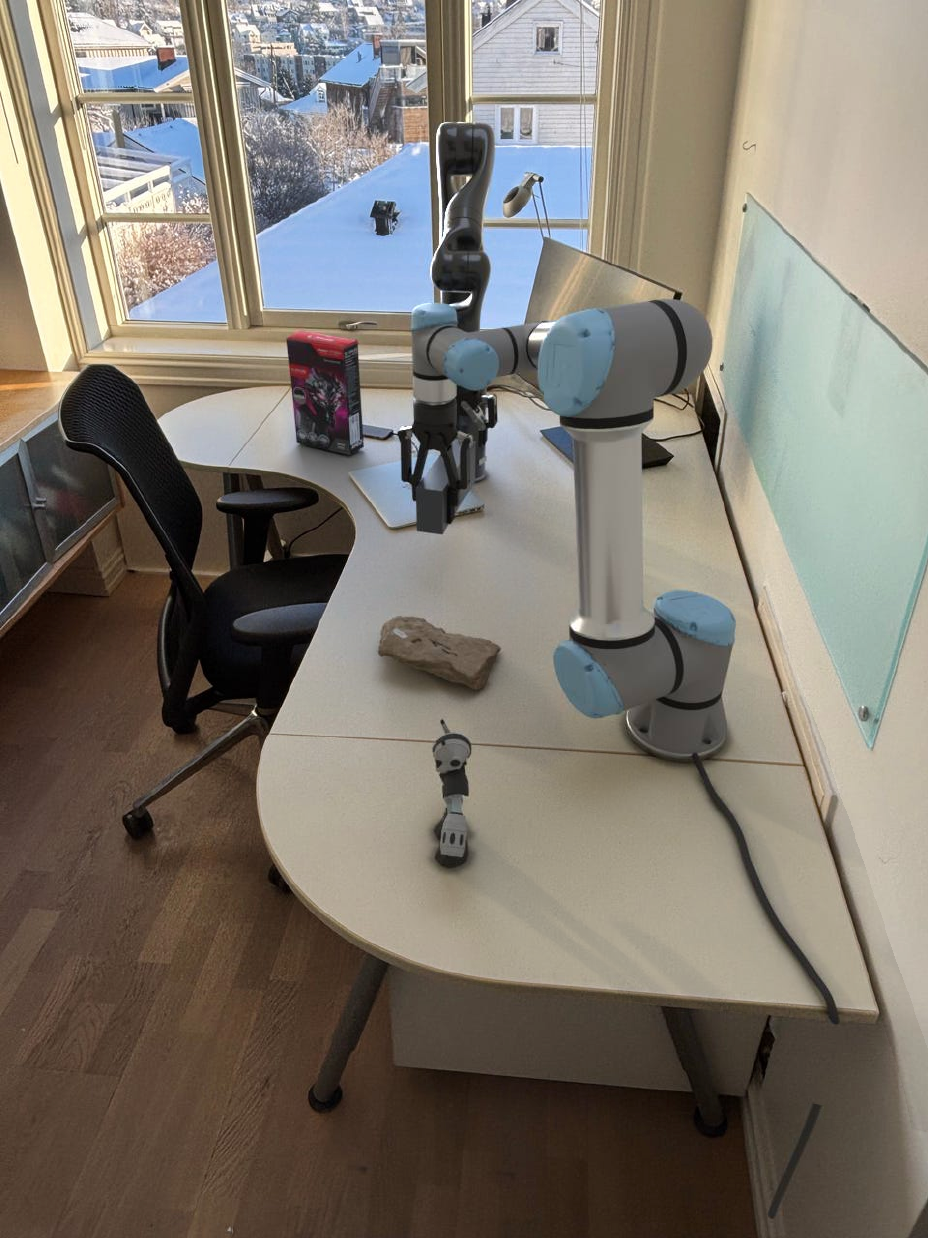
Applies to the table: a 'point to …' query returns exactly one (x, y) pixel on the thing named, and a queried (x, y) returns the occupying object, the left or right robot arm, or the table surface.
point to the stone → (438, 651)
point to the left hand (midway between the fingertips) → (460, 443)
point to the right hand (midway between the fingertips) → (436, 518)
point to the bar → (439, 492)
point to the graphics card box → (326, 391)
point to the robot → (452, 796)
